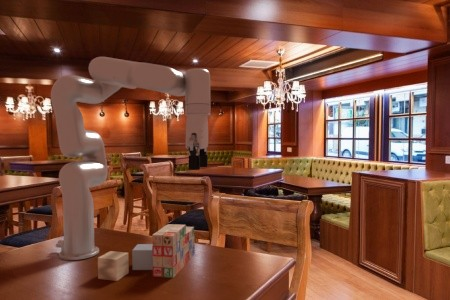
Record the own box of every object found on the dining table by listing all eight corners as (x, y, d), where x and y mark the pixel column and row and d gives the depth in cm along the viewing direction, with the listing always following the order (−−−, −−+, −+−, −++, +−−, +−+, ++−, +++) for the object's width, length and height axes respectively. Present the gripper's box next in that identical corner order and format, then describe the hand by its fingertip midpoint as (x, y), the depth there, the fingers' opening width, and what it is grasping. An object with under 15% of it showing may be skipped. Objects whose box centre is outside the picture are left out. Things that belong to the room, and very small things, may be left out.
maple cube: (98, 278, 97) (97, 257, 96) (110, 271, 102) (110, 251, 102) (116, 281, 95) (116, 259, 95) (128, 273, 101) (128, 252, 101)
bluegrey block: (132, 270, 103) (132, 250, 103) (137, 262, 109) (137, 244, 109) (152, 270, 103) (152, 250, 103) (156, 262, 109) (156, 244, 109)
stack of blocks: (177, 252, 119) (177, 217, 118) (194, 253, 118) (194, 217, 117) (152, 277, 98) (151, 234, 97) (173, 278, 97) (172, 235, 96)
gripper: (193, 113, 112) (193, 166, 113) (177, 109, 95) (177, 170, 96) (215, 113, 111) (216, 166, 111) (203, 108, 94) (204, 171, 94)
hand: (198, 168), depth 104 cm, fingers open, 9 cm apart
